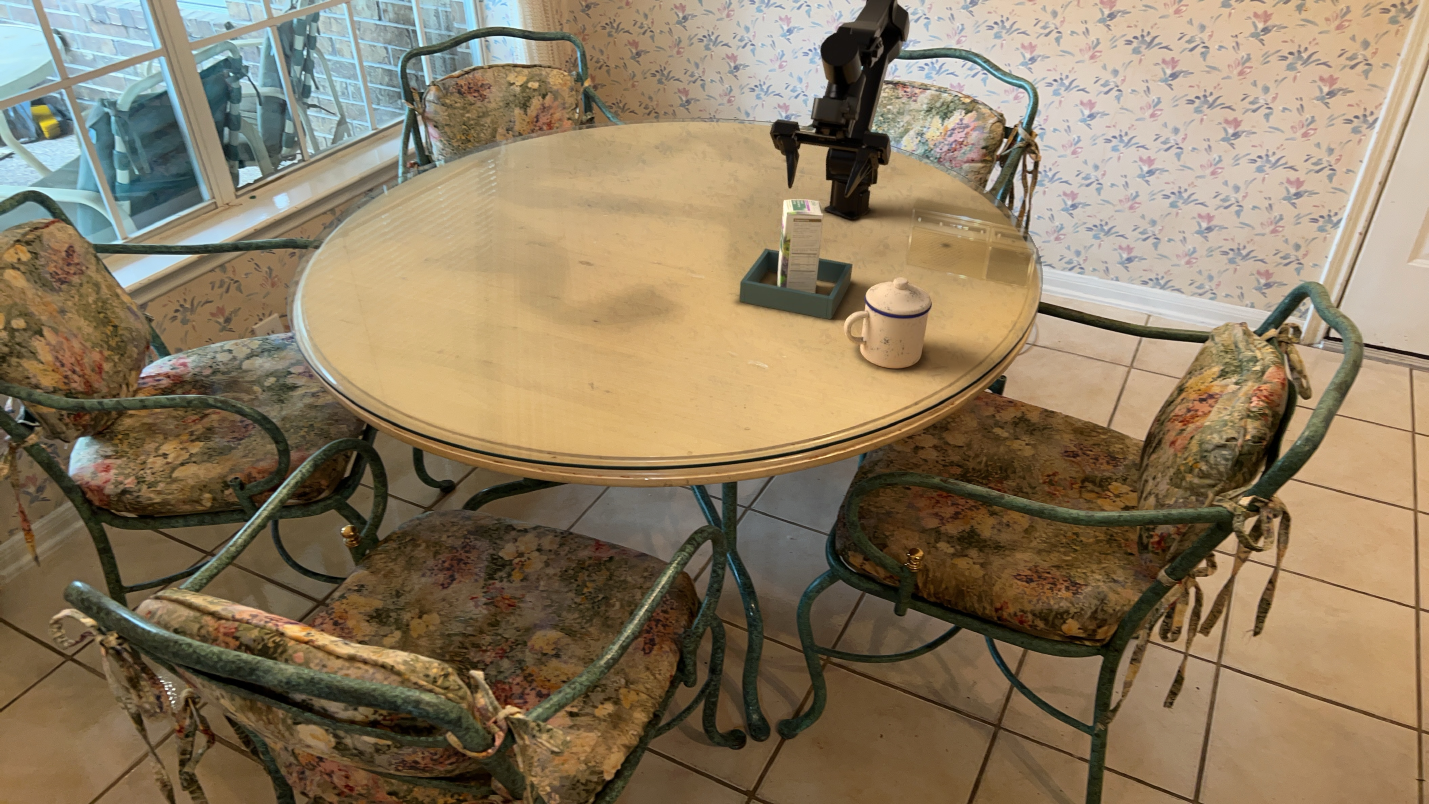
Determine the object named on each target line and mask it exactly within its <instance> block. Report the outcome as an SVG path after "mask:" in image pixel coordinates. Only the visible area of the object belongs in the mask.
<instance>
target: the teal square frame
mask: <svg viewBox="0 0 1429 804" xmlns="http://www.w3.org/2000/svg"><path fill="white" fill-rule="evenodd" d="M778 263H779V250H775V249H771V248H765V249H763V251H762V253H761V254H760V255H759V256H758V257H757V259H756V260H755V262H754V263H753V264H752V265H751V267H750V268H749V270H748V271H747V272H746V274H745V275H744V276H743V278H741V280H740V282H739V283H740V284H739V303H743V304H748V305H754V306H758V307H759V306H760V307H765V308H770V309H775V310H780V311H785V312H789V313H790V312H791V313H795V314H800V315H806V316H811V317H816V318H819V319H820V318H821V319H827V320H832V319H833V317H834V315H835V313H836V311H837V309H838V307H839V305H840V303H841V302H842V300H843V298H844V297H845V294H846V292H847V291H848V288H849V287H850V285H851V282H852V275H853V274H852V272H853V263H849V262H843V261H838V260H832V259H827V258H821V257H819V264H818V273H817V281H823V282H828V283H834V284H835V285H834V287H833V289H832V291H831V293H830V294H829V295H826V294H821V293H816V292H815V293H810V292H805V291H800V290H794V289H789V288H784V287H778V286H777V285H774V284H773V285H772V284H767V283H763V282H762V283H761V280H762V279H763V278H764V276H765V275H766V273H767V272H769V271H770V272H775V273H778Z"/></svg>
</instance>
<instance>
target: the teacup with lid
mask: <svg viewBox="0 0 1429 804" xmlns="http://www.w3.org/2000/svg"><path fill="white" fill-rule="evenodd" d="M864 302H865V307H864V310H859V311H855V312H853V313H851V314H850V315H849V316H848V317H847V318H846V320H845V322H844V324H843V331H844V336H845V337H846V339H847V340H848V341H849V342H851V343H852V344H854V345H859V351H860V353H861V355H862V357H863V358H864V359H865V360H867V361H868V362H870V363H871V364H873V365H876V366H879V367H882V368H888V369H903V368H908V367H912V366H913V365H915V364H916V363H918V362H919V361H920V359H921V357H922V352H923V346H924V342H925V336H926V330H927V325H928V318H929V313H930V310H931V309H932V306H933V303H932V298H931V296H930V295H929V293H928V292H927V291H926V290H924V289H923V288H922V287H919V286H918V285H915V284H912V283H909V281H908V279H907V278H906V277H901V276H900V277H895V278H894V279H893V281H883V282H879V283H876V284H874V285H872V286H871V287H870V288H868V290H867V291H866V293H865V295H864ZM861 319H863V320H862V321H863V322H862V329H861V336H853V335H852V331H851V330H852V329H851V328H852V326H853V324H854V323H855V322H856V321H859V320H861Z"/></svg>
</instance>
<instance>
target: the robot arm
mask: <svg viewBox="0 0 1429 804" xmlns="http://www.w3.org/2000/svg"><path fill="white" fill-rule="evenodd" d="M910 24H911V21H910V15H909V12H908V11H907V10H906V9H905V8H904V7H903V6H902V5H900V4H899V2H898V0H865V5H864V6H863V8H862V9H861V11H860V12H859V13H858V15H857V16H856V18H855V19H854V21H847V22H844V23H842V24H841V25H839V26H838V27H837V29H836V32H832V34H830V35H829V36H827V37H826V38H825V39H824V41H823V42H821V44H820V48H819V52H820V58H821V62H822V67H823V71H824V77H825V80H827V85H826V87H825V92H824V95H822V97H814V98H813V103H812V108H811V114H810V120H812V122H811V126H812V129H814V131H807V130H801V128H800V124H799V121H794V120H786V119H779V118H778V119H776V120H775V121H774V122H772V124H771V127H770V131H769V135H770V138H771V141H772V144H773V146H774V149H775V150H778V151H780V154H781V156H784V157H785V163H786V178H787V179H786V180H787V187H788V189H790V190H791V189H792V188H793V185H794V183H795V179H796V173H797V169H798V165H799V160H800V153H799V152H800V151H799V150H800V149H801V145H810V146H815V147H822V148H827V152H826V157H825V181H831V185H830V196H829V197H830V198H829V204H828V205H827V206H824V208H823V209H824V210H823V211H824V212H827V213H830V214H833V215H835V216H839V217H840V218H844V219H847V220H850V221H853V220H856V219H858V218H859V217H861V216H863V215H866V214H867V213H869V212H871V210H872V207H869V206H870V199H871V190H870V188H871V187H872V186H873V185H878V180H879V168H880V166H884V167H885V166H888V165H889V163H890V158H891V154H892V146H891V145H892V144H891V137H890V136H889V134H888V133H884V132H877V131H872V129H873V125H874V122H875V118H876V113H877V111H878V106H879V102H880V98H881V94H882V91H883V87H884V84H885V79H886V75H887V72H888V68H889V65H890V64H891V63H893V61H894V60H896V59H897V58H898V57H899V56H900V55H901V51H902V49H903V46H904V43H907V41H908V39H909V33H910V28H911V27H910V26H911V25H910Z"/></svg>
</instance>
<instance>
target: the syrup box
mask: <svg viewBox="0 0 1429 804" xmlns="http://www.w3.org/2000/svg"><path fill="white" fill-rule="evenodd" d="M782 205H783V207H782V218H781V227H780V228H781V229H780V230H781V231H780V240H779V250H778V251H779V263H778V272H777V279H776V286H778V287H784V288H789V289H794V290H800V291H805V292H810V293H816V292H817V291H816V290H817V284H818V283H817V282H818V280H817V273H818V264H819V258H820V253H821V242H822V234H823V224H824V223H823V222H824V214H823V208H822V204H821V201H820V200H814V199H807V198H806V199H803V198H795V199H794V198H793V199H783V204H782Z"/></svg>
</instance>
